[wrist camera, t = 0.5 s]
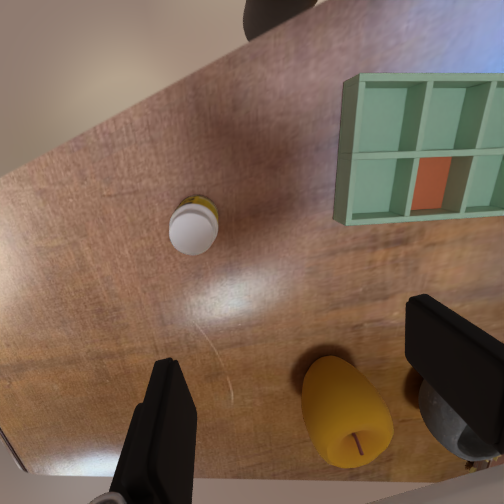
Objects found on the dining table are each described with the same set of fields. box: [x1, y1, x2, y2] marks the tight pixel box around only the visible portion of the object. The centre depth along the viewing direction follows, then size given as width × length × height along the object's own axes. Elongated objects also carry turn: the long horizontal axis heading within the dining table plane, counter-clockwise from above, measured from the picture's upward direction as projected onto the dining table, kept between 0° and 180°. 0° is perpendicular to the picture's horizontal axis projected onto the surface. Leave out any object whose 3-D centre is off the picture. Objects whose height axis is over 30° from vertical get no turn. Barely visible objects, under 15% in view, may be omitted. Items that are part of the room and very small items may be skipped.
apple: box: [301, 355, 394, 468], centre depth 36 cm, size 11×11×13 cm
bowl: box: [419, 379, 501, 461], centre depth 42 cm, size 15×15×10 cm
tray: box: [333, 73, 504, 226], centre depth 31 cm, size 15×22×4 cm
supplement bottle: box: [169, 195, 218, 255], centre depth 28 cm, size 5×5×8 cm
